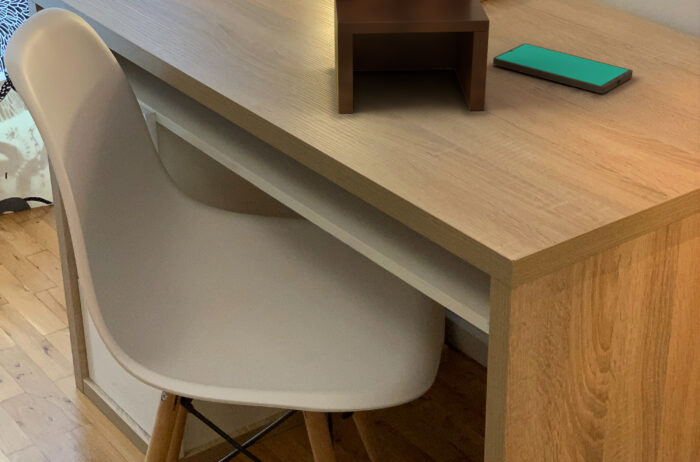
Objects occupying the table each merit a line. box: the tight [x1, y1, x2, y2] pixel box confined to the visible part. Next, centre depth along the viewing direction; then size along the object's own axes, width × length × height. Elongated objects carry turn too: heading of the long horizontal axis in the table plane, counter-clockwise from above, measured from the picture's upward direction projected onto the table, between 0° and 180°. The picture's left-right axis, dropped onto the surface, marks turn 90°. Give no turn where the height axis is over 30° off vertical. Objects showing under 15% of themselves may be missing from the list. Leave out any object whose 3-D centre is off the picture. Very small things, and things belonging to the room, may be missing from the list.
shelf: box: [333, 0, 491, 114], centre depth 119 cm, size 16×14×18 cm
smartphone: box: [492, 43, 633, 94], centre depth 128 cm, size 7×1×15 cm
